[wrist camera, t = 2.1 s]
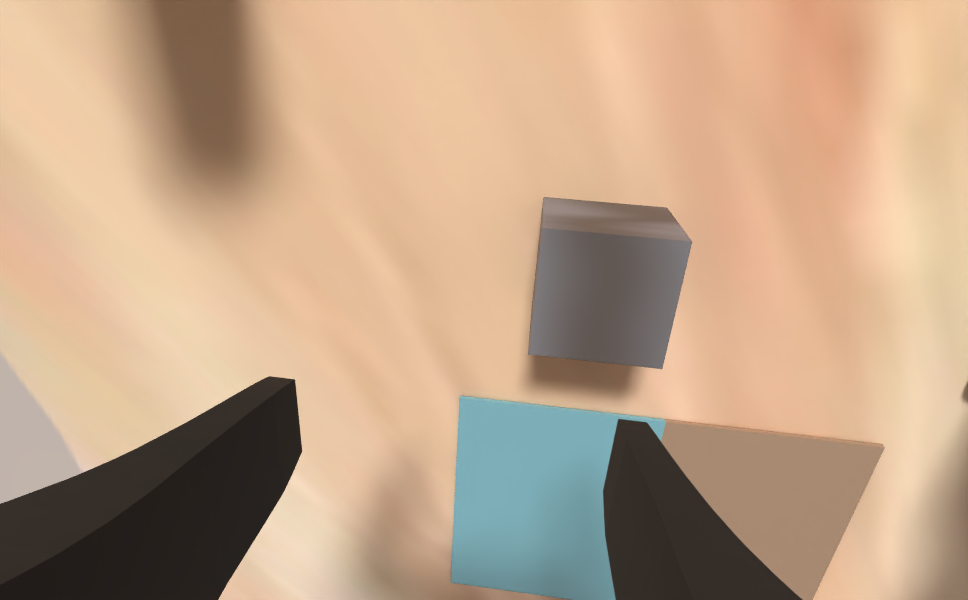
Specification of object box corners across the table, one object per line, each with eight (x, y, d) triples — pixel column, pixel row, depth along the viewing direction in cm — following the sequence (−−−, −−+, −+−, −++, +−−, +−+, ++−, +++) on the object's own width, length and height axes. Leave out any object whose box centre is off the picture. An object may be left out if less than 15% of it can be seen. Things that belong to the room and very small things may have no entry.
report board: (882, 444, 23) (884, 447, 23) (795, 628, 28) (797, 631, 28) (460, 395, 24) (459, 398, 24) (451, 579, 29) (450, 582, 29)
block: (666, 206, 20) (691, 241, 16) (643, 316, 22) (662, 369, 18) (543, 196, 20) (542, 227, 17) (531, 304, 22) (528, 354, 18)
